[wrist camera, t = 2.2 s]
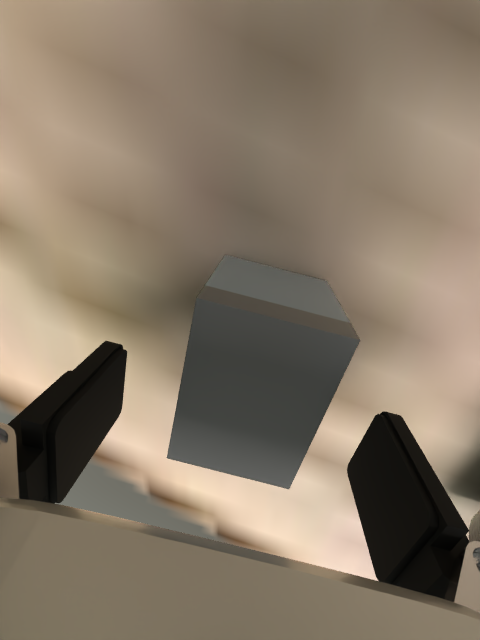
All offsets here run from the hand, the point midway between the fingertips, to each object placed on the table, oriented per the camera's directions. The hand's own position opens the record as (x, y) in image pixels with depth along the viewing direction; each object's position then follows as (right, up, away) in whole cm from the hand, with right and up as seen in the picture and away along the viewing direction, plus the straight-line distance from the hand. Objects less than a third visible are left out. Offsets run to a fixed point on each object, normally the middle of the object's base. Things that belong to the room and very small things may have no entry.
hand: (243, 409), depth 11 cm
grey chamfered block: (+1, +3, +5) cm, 6 cm away
